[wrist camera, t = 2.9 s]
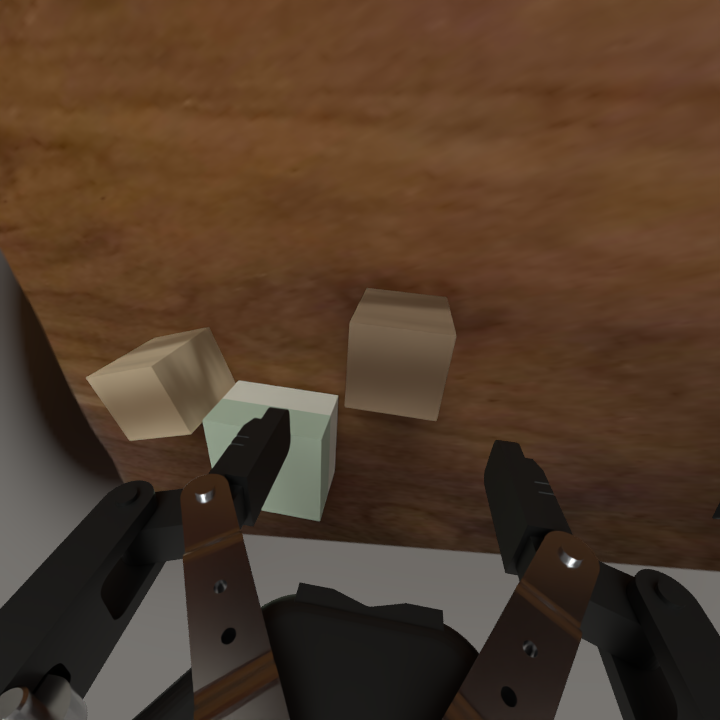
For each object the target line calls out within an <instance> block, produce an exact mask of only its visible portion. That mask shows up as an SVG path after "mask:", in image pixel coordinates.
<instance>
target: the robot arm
mask: <svg viewBox="0 0 720 720" xmlns="http://www.w3.org/2000/svg"><path fill="white" fill-rule="evenodd" d="M290 443H291V434H290V413H289V410H288V409H281V408H274V407H269V408H268V409H267V411H266V412H265V414H264V415H263V417H262V418H261V419H260V418H253V419H252V420H250V421H249V422H248V423H246V424H245V425H243V427H242V428H241V429H240V431H239V432H238V434H237V436H236V437H235V438H234V439H233V440H232V442H231V444H230V445H229V446H228V447H227V449H226V450H225V452H224V453H223V454H222V456H221V457H220V458H219V460H218V461H217V463H216V464H215V465H214V467H213V468H212V469H211V471H210V472H209V474H206V475H202V476H199V477H197V478H195V479H193V480H192V481H190V482H189V483H188V484H187V485H186V486H185V487H184V488H183V489H178V490H169V491H160V492H154V489H153V486H152V485H151V484H150V483H149V482H146V481H131V482H128V483H125V484H122V485H120V486H118V487H116V488H115V489H113V490H112V491H110V492H109V493H108V494H107V495H106V496H105V497H104V498H103V499H102V500H101V501H100V502H99V503H98V504H97V505H96V506H95V508H94V509H93V510H92V511H91V512H90V513H89V514H88V515H87V516H86V517H85V518H84V520H82V521H81V523H80V524H79V525H78V526H77V527H76V528H75V529H74V530H73V531H72V532H71V533H70V534H69V536H68V537H67V538H66V539H65V540H64V541H63V542H62V543H61V544H60V545H59V546H58V547H57V548H56V550H55V551H54V552H53V553H52V554H51V555H50V556H49V557H48V558H47V559H46V560H45V561H44V562H43V563H42V565H41V566H40V567H39V568H38V569H37V570H36V571H35V572H34V573H33V574H32V575H31V576H30V577H29V579H28V580H27V581H26V582H25V583H24V584H23V585H22V586H21V587H20V588H19V589H18V591H17V592H16V593H15V594H14V595H13V596H12V597H11V598H10V599H9V600H8V601H7V602H6V603H5V604H4V606H3V607H2V608H1V609H0V720H87V707H86V704H85V702H84V701H83V698H84V697H85V695H86V693H87V692H88V690H89V688H90V687H91V685H92V683H93V682H94V680H95V678H96V677H97V675H98V673H99V672H100V670H101V668H102V667H103V665H104V663H105V662H106V660H107V658H108V657H109V655H110V653H111V652H112V650H113V649H114V647H115V645H116V643H117V642H118V640H119V639H120V637H121V635H122V633H123V632H124V630H125V629H126V627H127V625H128V624H129V622H130V620H131V619H132V617H133V615H134V614H135V612H136V610H137V609H138V607H139V605H140V604H141V602H142V600H143V599H144V597H145V595H146V594H147V592H148V590H149V589H150V587H151V586H152V584H153V582H154V581H155V579H156V577H157V576H158V574H159V572H160V571H161V569H162V567H163V565H164V564H165V562H166V561H170V560H177V559H183V570H184V581H185V592H186V606H187V617H188V630H189V642H190V655H191V668H190V669H189V670H188V671H187V672H186V673H185V674H183V675H182V676H181V677H180V678H179V679H178V680H177V681H176V682H174V683H173V684H172V685H171V686H170V687H169V688H167V689H166V690H165V691H164V692H163V693H162V694H161V695H160V696H158V697H157V698H156V699H155V700H154V701H153V702H152V703H151V704H149V705H148V706H147V707H146V708H145V709H144V710H143V711H141V712H140V713H139V714H138V715H137V716H136V717H135V718H134V719H132V720H554V718H555V715H556V712H557V709H558V706H559V703H560V700H561V697H562V694H563V691H564V688H565V685H566V682H567V679H568V676H569V673H570V670H571V668H572V664H573V661H574V659H575V656H576V653H577V650H578V647H579V644H580V641H581V638H582V639H584V640H586V641H588V642H590V643H592V644H594V645H596V646H597V647H598V649H599V652H600V655H601V657H602V661H603V664H604V666H605V669H606V672H607V675H608V678H609V680H610V683H611V686H612V689H613V692H614V695H615V697H616V700H617V703H618V706H619V709H620V712H621V715H622V717H623V720H720V636H719V634H718V632H717V631H716V629H715V628H714V626H713V625H712V623H711V622H710V620H709V618H708V617H707V615H706V614H705V612H704V611H703V609H702V607H701V606H700V604H699V603H698V601H697V600H696V599H695V597H694V596H693V595H692V594H691V593H690V592H689V591H688V590H687V589H686V588H685V587H684V586H682V585H681V584H680V583H679V582H677V581H676V580H674V579H673V578H671V577H669V576H667V575H666V574H664V573H661V572H659V571H655V570H651V569H643V570H640V571H639V572H638V573H637V574H636V575H635V577H633V576H630V575H629V574H626V573H624V572H622V571H619V570H617V569H615V568H613V567H610V566H608V565H606V564H604V563H602V562H600V561H598V559H597V557H596V555H595V554H594V552H593V551H592V550H591V549H590V548H589V547H588V546H587V545H586V544H585V543H584V542H583V541H582V540H580V539H579V538H577V537H575V536H574V535H573V534H572V532H571V530H570V528H569V526H568V523H567V521H566V519H565V517H564V515H563V513H562V510H561V508H560V506H559V504H558V502H557V499H556V497H555V496H554V495H553V494H554V493H553V491H552V489H551V486H550V485H549V482H548V480H547V478H546V476H545V473H544V471H543V470H542V469H541V468H540V467H539V466H538V465H537V463H536V462H535V461H534V460H533V459H529V458H525V457H524V455H523V452H522V450H521V447H520V445H519V444H518V443H515V442H508V441H501V440H496V441H495V442H494V444H493V447H492V450H491V453H490V456H489V459H488V463H487V466H486V469H485V474H484V485H485V490H486V494H487V498H488V502H489V506H490V510H491V515H492V519H493V523H494V527H495V531H496V536H497V540H498V544H499V548H500V552H501V557H502V561H503V565H504V569H505V573H508V574H514V575H518V577H519V581H520V582H519V584H518V585H517V587H516V589H515V590H514V592H513V594H512V596H511V598H510V600H509V601H508V603H507V605H506V607H505V608H504V610H503V612H502V614H501V616H500V617H499V619H498V621H497V623H496V624H495V626H494V628H493V630H492V632H491V634H490V635H489V637H488V639H487V641H486V642H485V644H484V646H483V648H482V649H481V651H480V653H478V652H477V650H476V649H475V648H474V647H473V646H472V645H471V644H470V643H469V642H468V641H467V640H466V639H465V638H464V637H463V636H462V635H460V634H459V633H458V632H457V631H455V630H454V629H452V628H451V627H449V626H447V625H445V624H444V623H443V611H442V610H438V609H432V608H428V607H423V606H418V605H413V604H407V603H405V604H394V605H386V606H374V607H368V606H365V605H363V604H362V603H360V602H358V601H355V600H354V599H352V598H350V597H348V596H346V595H344V594H342V593H340V592H338V591H336V590H334V589H330V588H325V587H320V586H315V585H310V584H305V583H299V587H298V590H297V594H293V595H288V596H283V597H280V598H278V599H275V600H273V601H271V602H269V603H267V604H265V605H264V606H262V607H261V606H260V603H259V599H258V595H257V591H256V587H255V583H254V579H253V575H252V571H251V567H250V563H249V559H248V555H247V551H246V547H245V543H244V539H243V535H242V532H241V531H240V530H241V528H242V526H243V525H248V526H254V524H255V522H256V520H257V518H258V516H259V514H260V511H261V509H262V507H263V505H264V503H265V501H266V499H267V497H268V495H269V493H270V490H271V488H272V486H273V484H274V482H275V480H276V478H277V476H278V474H279V472H280V470H281V467H282V465H283V463H284V461H285V459H286V457H287V455H288V452H289V449H290Z"/></svg>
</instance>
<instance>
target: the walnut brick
mask: <svg viewBox="0 0 720 720" xmlns="http://www.w3.org/2000/svg"><path fill="white" fill-rule="evenodd" d="M455 340H456V332H455V328H454V324H453V320H452V316H451V312H450V308H449V304H448V300H447V297H441V296H432V295H424V294H415V293H406V292H398V291H389V290H380V289H372V288H367V289H366V291H365V293H364V295H363V297H362V299H361V301H360V303H359V305H358V307H357V309H356V311H355V313H354V315H353V317H352V319H351V321H350V326H349V342H348V359H347V375H346V392H345V407H348V408H354V409H360V410H367V411H373V412H380V413H386V414H393V415H399V416H406V417H412V418H419V419H425V420H431V421H437V417H438V413H439V409H440V404H441V400H442V396H443V391H444V387H445V383H446V379H447V374H448V370H449V366H450V361H451V357H452V353H453V349H454V344H455Z"/></svg>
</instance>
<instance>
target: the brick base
mask: <svg viewBox="0 0 720 720" xmlns="http://www.w3.org/2000/svg"><path fill="white" fill-rule="evenodd" d="M269 407H274V408H281V409H288V410H289V413H290V434H291V443H290V449H289V452H288V455H287V457H286V459H285V461H284V463H283V465H282V467H281V470H280V472H279V474H278V476H277V478H276V480H275V482H274V484H273V486H272V488H271V490H270V493H269V495H268V497H267V499H266V501H265V503H264V505H263V507H262V509H261V510H263V511H268V512H273V513H279V514H284V515H289V516H294V517H299V518H305V519H310V520H315V521H320V519H321V516H322V513H323V509H324V506H325V502H326V499H327V496H328V492H329V489H330V485H331V482H332V479H333V475H334V472H335V457H336V435H337V414H338V395H332V394H325V393H319V392H312V391H306V390H299V389H292V388H286V387H279V386H272V385H266V384H259V383H252V382H246V381H238V382H237V383H236V384H235V385H234V386H233V387H232V388H231V389H230V391H229V392H228V393H227V394H226V395H225V396H224V397H223V398H222V399H221V400H220V401H219V403H218V404H217V405H216V406H215V407H214V408H213V409H212V410H211V411H210V412H209V413H208V414H207V416H206V417H205V418H204V419H203V420H202V421H203V426H204V431H205V436H206V441H207V446H208V451H209V456H210V461H211V466H212V468H213V467H214V465H215V464H216V463H217V461H218V460H219V458H220V457H221V456H222V454H223V453H224V452H225V450H226V449H227V447H228V446H229V445H230V444H231V442H232V440H233V439H234V438H235V437H236V436H237V434H238V432H239V431H240V429H241V428H242V427H243V425H245V424H246V423H248V422H249V421H250V420H252V419H253V418H260V419H261V418H262V417H263V415H264V414H265V412H266V411H267V409H268V408H269Z"/></svg>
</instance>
